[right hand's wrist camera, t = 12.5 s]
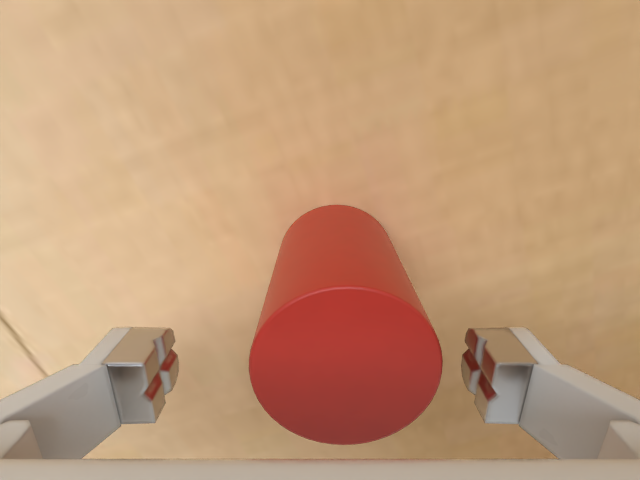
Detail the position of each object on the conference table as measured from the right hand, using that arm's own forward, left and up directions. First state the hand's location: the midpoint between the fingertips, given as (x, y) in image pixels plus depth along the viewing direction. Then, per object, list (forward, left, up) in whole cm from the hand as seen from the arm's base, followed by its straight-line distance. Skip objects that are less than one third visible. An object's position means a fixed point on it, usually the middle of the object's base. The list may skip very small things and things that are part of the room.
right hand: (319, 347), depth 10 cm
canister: (0, +1, -7) cm, 7 cm away
